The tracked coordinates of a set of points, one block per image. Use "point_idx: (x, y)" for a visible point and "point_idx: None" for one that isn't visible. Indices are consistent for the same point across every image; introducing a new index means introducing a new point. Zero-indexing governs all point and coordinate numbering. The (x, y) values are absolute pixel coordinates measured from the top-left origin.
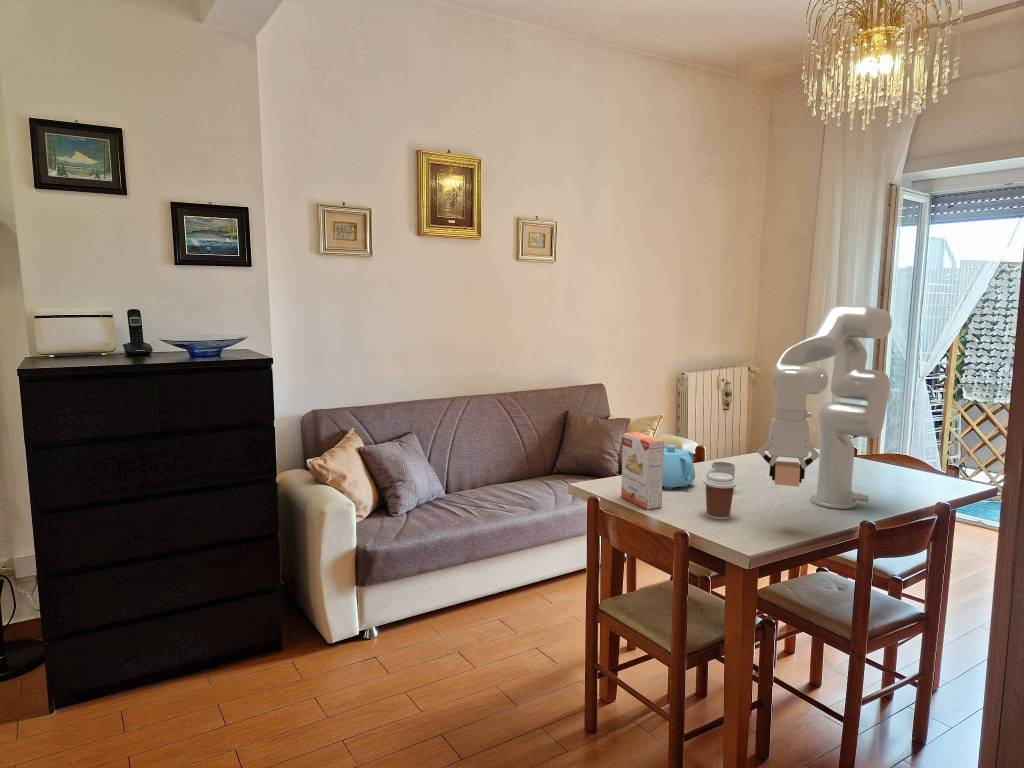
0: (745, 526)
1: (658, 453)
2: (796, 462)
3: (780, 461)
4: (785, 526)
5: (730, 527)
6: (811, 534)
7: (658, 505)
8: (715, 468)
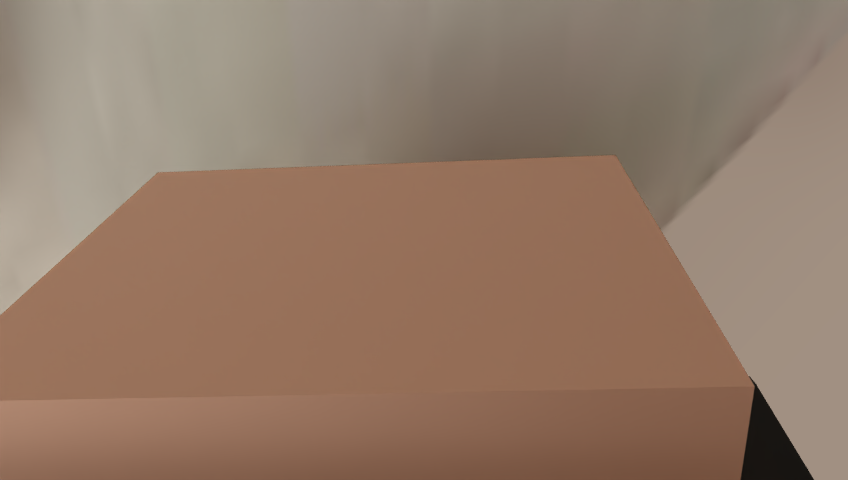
0: (127, 179)
1: None
2: (668, 408)
3: (100, 437)
4: (445, 29)
5: (30, 252)
6: (652, 158)
7: None
8: None
